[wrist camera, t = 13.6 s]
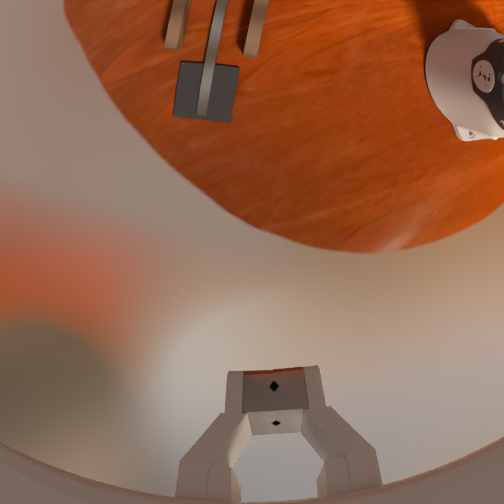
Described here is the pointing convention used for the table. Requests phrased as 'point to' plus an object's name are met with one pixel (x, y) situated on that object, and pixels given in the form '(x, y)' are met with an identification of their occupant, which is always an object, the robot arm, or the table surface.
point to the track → (213, 39)
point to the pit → (219, 92)
